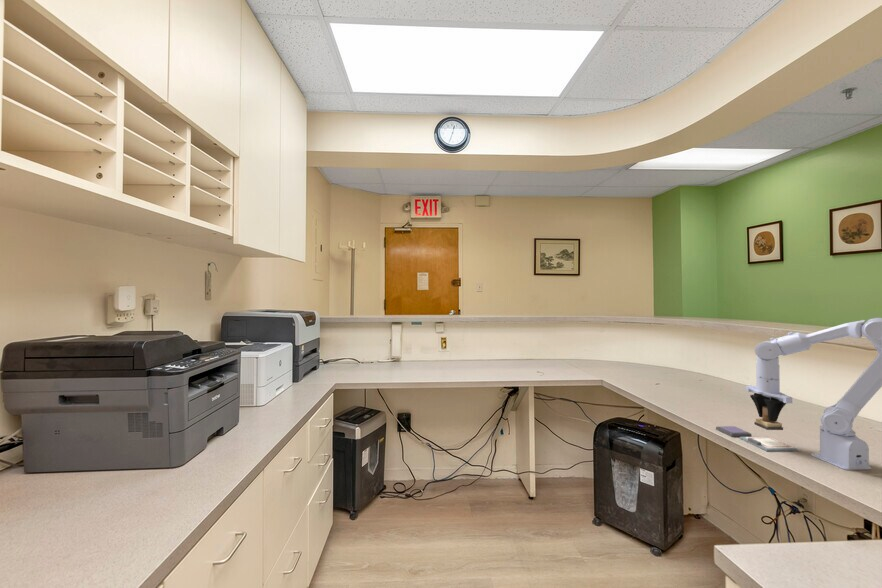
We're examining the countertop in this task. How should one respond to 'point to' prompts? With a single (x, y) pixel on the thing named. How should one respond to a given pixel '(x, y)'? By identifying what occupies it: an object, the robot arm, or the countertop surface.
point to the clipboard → (768, 443)
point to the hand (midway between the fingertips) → (767, 418)
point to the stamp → (767, 421)
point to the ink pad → (733, 431)
